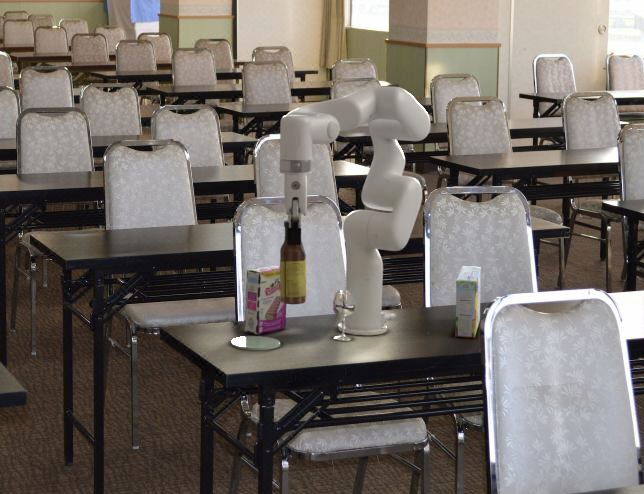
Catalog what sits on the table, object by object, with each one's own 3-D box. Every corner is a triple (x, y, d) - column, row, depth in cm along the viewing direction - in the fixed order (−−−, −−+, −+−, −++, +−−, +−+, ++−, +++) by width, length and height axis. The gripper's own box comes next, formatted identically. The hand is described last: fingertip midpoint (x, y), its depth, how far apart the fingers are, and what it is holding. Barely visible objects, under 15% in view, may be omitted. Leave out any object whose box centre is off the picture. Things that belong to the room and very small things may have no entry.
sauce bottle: (311, 302, 297) (313, 221, 295) (294, 306, 293) (296, 223, 290) (290, 298, 302) (292, 217, 299) (273, 302, 297) (275, 220, 295)
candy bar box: (258, 335, 315) (259, 272, 313) (244, 332, 319) (245, 269, 317) (287, 329, 323) (288, 267, 321) (272, 325, 327) (274, 264, 325)
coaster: (263, 336, 315) (263, 334, 315) (289, 346, 304) (289, 344, 304) (222, 341, 309) (222, 339, 309) (248, 352, 298) (248, 349, 298)
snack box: (459, 319, 338) (461, 265, 336) (480, 321, 336) (482, 266, 334) (453, 337, 317) (455, 279, 315) (475, 338, 316) (478, 280, 314)
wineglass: (357, 337, 315) (358, 291, 314) (350, 342, 310) (351, 295, 309) (335, 334, 318) (337, 289, 316) (328, 339, 312) (329, 293, 311)
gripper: (312, 171, 285) (311, 249, 287) (309, 163, 301) (308, 237, 304) (280, 170, 285) (278, 248, 287) (279, 163, 302) (277, 236, 304)
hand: (293, 242), depth 295 cm, fingers closed on sauce bottle, 4 cm apart
